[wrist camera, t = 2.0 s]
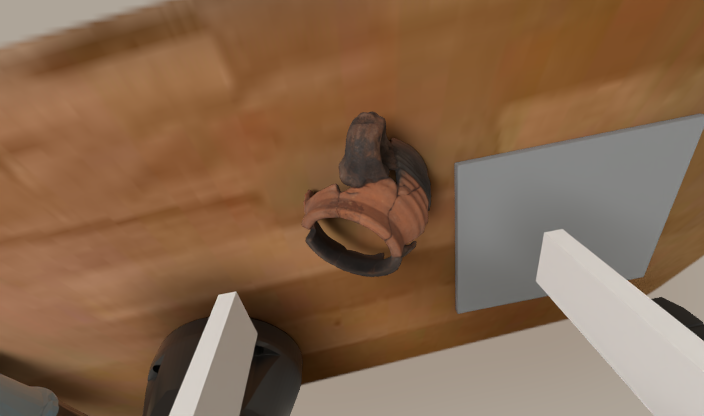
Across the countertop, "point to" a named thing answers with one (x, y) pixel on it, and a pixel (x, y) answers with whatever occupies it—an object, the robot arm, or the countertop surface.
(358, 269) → the broken terracotta jug
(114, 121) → the countertop surface
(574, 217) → the gray mat
